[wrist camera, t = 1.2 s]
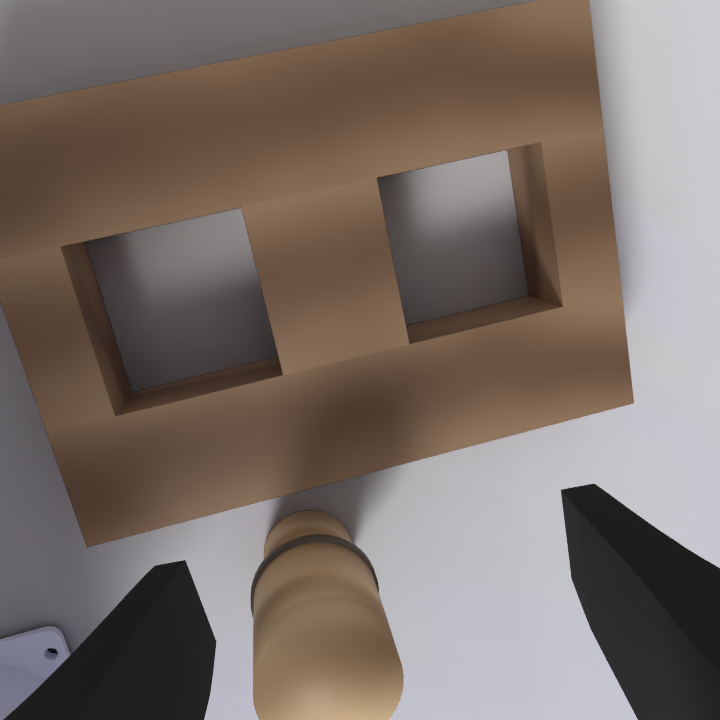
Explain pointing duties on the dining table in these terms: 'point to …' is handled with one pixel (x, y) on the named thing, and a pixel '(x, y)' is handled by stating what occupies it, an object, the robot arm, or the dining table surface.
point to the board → (314, 260)
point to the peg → (320, 627)
